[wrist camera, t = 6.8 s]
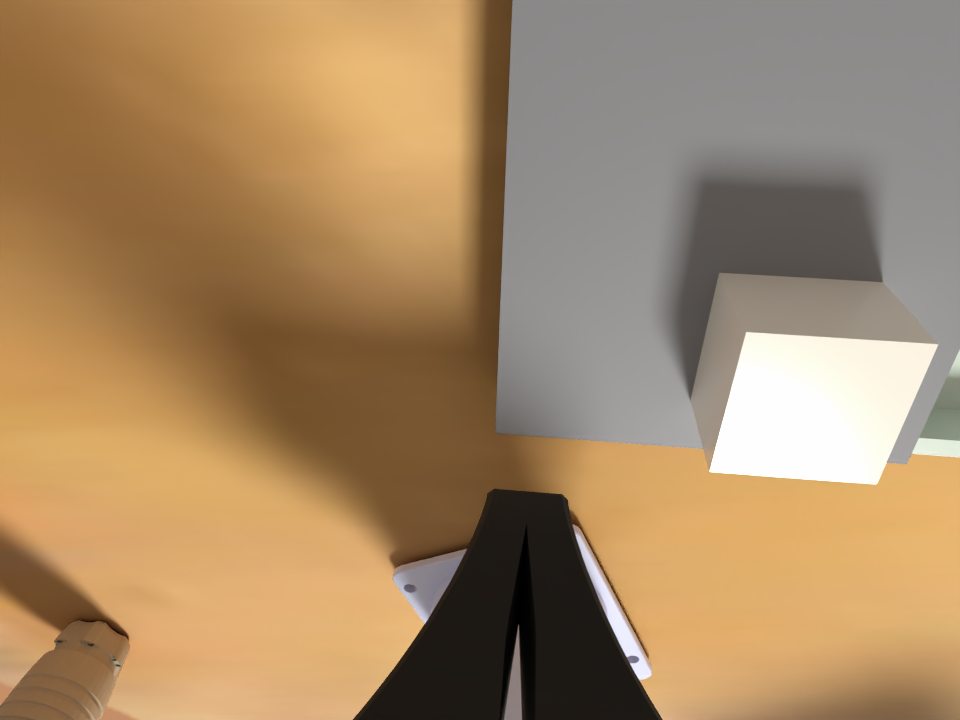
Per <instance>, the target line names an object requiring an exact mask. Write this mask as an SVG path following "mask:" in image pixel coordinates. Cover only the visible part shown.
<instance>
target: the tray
mask: <svg viewBox="0 0 960 720" xmlns="http://www.w3.org/2000/svg"><path fill="white" fill-rule="evenodd" d="M912 454H921V455H935V456H948V457H960V350H959V352H958V354H957V356H956V359H955V361H954V363H953V365H952V367H951V369H950V372H949V374H948V376H947V378H946V380H945V382H944V385H943V387H942V389H941V391H940V393H939V395H938V398H937V400H936V402H935V404H934V406H933V408H932V411H931V413H930V415H929V417H928V419H927V422H926V424H925V426H924V428H923V430H922V432H921V435H920V437H919V439H918V441H917V443H916V445H915V448H914V450H913V452H912Z"/></svg>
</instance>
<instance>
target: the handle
mask: <svg viewBox="0 0 960 720" xmlns="http://www.w3.org/2000/svg"><path fill="white" fill-rule="evenodd" d="M54 642H55V643H56V646H55V649H54V650H52V651H49V652H47V653H46V654H44V655H43V656H42V657H41V658H40V659H39V660H38V661H37V663H36V664H35V665H34V666H33V667H32V668H31V669H30V670H29V671H28V672H27V674H26V675H25V676H24V677H23V678H22V679H21V681H20V682H19V683H18V684H17V685H16V687H15V688H14V689H13V690H12V692H11V693H10V695H9V696H8V697H7V698H6V699H5V701H4V702H3V703H2V705H1V706H0V720H100V718H101V717H102V715H103V713H104V710H105V708H106V706H107V704H108V702H109V699H110V696H111V694H112V691H113V689H114V686H115V681H116V679H117V677H118V675H119V673H120V671H121V669H122V666H123V664H124V661H125V659H126V657H127V654H128V651H129V649H130V645H129V641H128V639H127V638H126V637H125V636H122V635H120V634H118V633H116V632H115V631H114V630H112V629H111V628H110V627H109V626H108V625H107V623H105V622H102V621H96V622H83V621H80V620H78V621H75V622H72V623H70V624H69V625H68V626H67V627H66V628H65V629H64V630H63V631H62V632H61V633H60V635H59V636H58V637H57V638H56V639H55V641H54Z"/></svg>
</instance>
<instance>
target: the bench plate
mask: <svg viewBox="0 0 960 720" xmlns="http://www.w3.org/2000/svg"><path fill="white" fill-rule="evenodd" d="M719 273H733V274H750V275H768V276H785V277H803V278H820V279H837V280H855V281H872V282H883V283H884V284H885V285H886V286H887V287H888V288H889V289H890V291H891V292H892V293H893V294H894V295H895V296H896V297H897V298H898V300H899V301H900V302H901V303H902V304H903V305H904V306H905V307H906V308H907V310H908V311H909V312H910V313H911V314H912V315H913V316H914V317H915V319H916V320H917V321H918V322H919V323H920V324H921V325H922V326H923V328H924V329H925V330H926V331H927V332H928V333H929V334H930V335H931V336H932V338H933V339H934V340H935V341H936V342H937V343H938V346H937V349H936V351H935V353H934V356H933V358H932V360H931V362H930V365H929V367H928V369H927V372H926V374H925V376H924V378H923V381H922V383H921V385H920V387H919V390H918V392H917V394H916V397H915V399H914V401H913V403H912V406H911V408H910V410H909V412H908V415H907V417H906V419H905V422H904V424H903V426H902V428H901V431H900V433H899V435H898V437H897V440H896V442H895V444H894V447H893V449H892V451H891V453H890V456H889V458H888V460H887V463H897V464H907V463H908V461H909V458H910V456H911V454H912V452H913V450H914V448H915V445H916V443H917V441H918V439H919V437H920V435H921V432H922V430H923V428H924V426H925V424H926V422H927V419H928V417H929V415H930V413H931V411H932V408H933V406H934V404H935V402H936V400H937V398H938V395H939V393H940V391H941V389H942V387H943V385H944V382H945V380H946V378H947V376H948V374H949V372H950V369H951V367H952V365H953V363H954V361H955V359H956V356H957V354H958V352H959V350H960V0H512V24H511V49H510V74H509V100H508V125H507V150H506V175H505V200H504V225H503V250H502V275H501V300H500V325H499V350H498V375H497V400H496V425H495V433H498V434H511V435H524V436H538V437H551V438H564V439H578V440H591V441H604V442H618V443H631V444H644V445H658V446H671V447H684V448H697V449H703V446H702V442H701V439H700V435H699V431H698V428H697V424H696V420H695V417H694V413H693V409H692V406H691V402H690V400H691V395H692V391H693V386H694V382H695V377H696V373H697V369H698V364H699V360H700V355H701V351H702V346H703V342H704V338H705V333H706V329H707V324H708V320H709V315H710V311H711V307H712V302H713V298H714V293H715V289H716V284H717V280H718V276H719Z"/></svg>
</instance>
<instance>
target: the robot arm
mask: <svg viewBox="0 0 960 720" xmlns="http://www.w3.org/2000/svg"><path fill="white" fill-rule="evenodd" d="M393 581H394V583H395V584H396V586H397V587H398V588H399V590H400V591H401V592H402V594H403V595H404V596H405V598H406V599H407V600H408V602H409V603H410V604H411V606H412V607H413V609H414V610H415V611H416V613H417V614H418V615H419V617H420V618H421V619H422V621H423V622H424V623H425V624H424V626H423V628H422V629H421V631H420V632H419V634H418V635H417V637H416V638H415V640H414V641H413V642H412V644H411V645H410V647H409V648H408V650H407V651H406V652H405V654H404V655H403V657H402V658H401V659H400V661H399V662H398V664H397V665H396V666H395V668H394V669H393V670H392V672H391V673H390V674H389V675H388V677H387V678H386V679H385V681H384V682H383V683H382V684H381V686H380V687H379V688H378V690H377V691H376V692H375V693H374V695H373V696H372V697H371V699H370V700H369V701H368V702H367V703H366V705H365V706H364V707H363V708H362V709H361V711H360V712H359V713H358V714H357V715H356V717H355V718H354V719H353V720H662V718H661V716H660V715H659V713H658V711H657V710H656V708H655V706H654V705H653V703H652V702H651V700H650V698H649V697H648V695H647V693H646V691H645V690H644V688H643V686H642V684H641V683H640V681H639V680H643V679H646V678H648V677H650V676H651V674H652V668H651V663H650V661H649V659H648V658H647V656H646V654H645V652H644V650H643V648H642V646H641V644H640V642H639V640H638V638H637V637H636V635H635V633H634V631H633V629H632V627H631V625H630V623H629V621H628V619H627V617H626V615H625V614H624V612H623V610H622V608H621V606H620V604H619V602H618V600H617V598H616V596H615V594H614V592H613V591H612V589H611V587H610V585H609V583H608V581H607V579H606V577H605V575H604V573H603V571H602V569H601V568H600V566H599V564H598V562H597V560H596V558H595V556H594V554H593V552H592V550H591V548H590V546H589V545H588V543H587V541H586V539H585V537H584V535H583V533H582V531H581V530H580V528H579V527H577V526H576V525H573V524H572V521H571V516H570V512H569V506H568V500H567V499H566V498H565V497H564V496H563V495H562V494H550V493H538V492H525V491H513V490H500V489H494V490H492V491H490V492H489V493H488V494H487V499H486V503H485V506H484V509H483V512H482V515H481V518H480V520H479V523H478V525H477V528H476V530H475V533H474V535H473V537H472V539H471V542H470V544H469V546H468V548H467V549H464V550H460V551H456V552H452V553H448V554H444V555H440V556H436V557H432V558H428V559H424V560H420V561H416V562H413V563H409V564H405V565H401V566H398V567H396V569H395V570H394V574H393ZM411 584H412V585H411Z"/></svg>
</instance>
